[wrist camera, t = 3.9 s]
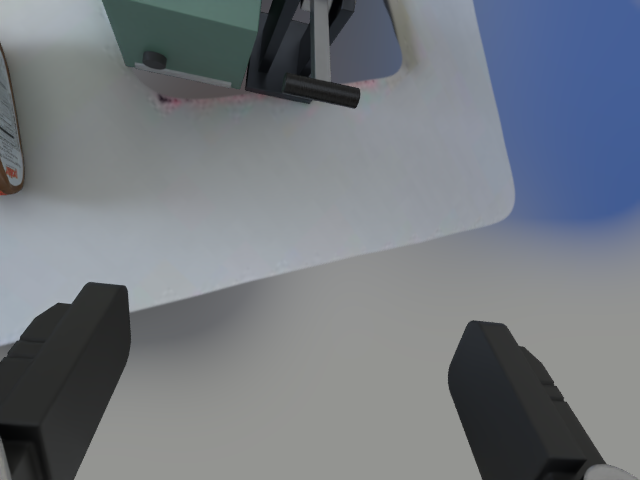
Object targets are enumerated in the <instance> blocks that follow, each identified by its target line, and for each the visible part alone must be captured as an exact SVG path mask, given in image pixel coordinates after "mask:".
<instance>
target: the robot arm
mask: <svg viewBox="0 0 640 480" xmlns="http://www.w3.org/2000/svg"><path fill="white" fill-rule="evenodd" d="M130 343H131V333H130V317H129V302H128V291H127V288H126V286H123V285H114V284H104V283H94V282H89V283H87V284H86V285H85V286H84V287H83V289H82V290H81V291H80V293H79V294H78V296H77V297H76V299H75V300H74V301H73V303H72V304H65V303H57V304H56V305H54V306H52V307H51V308H49V309H48V310H46V311H45V312H43V313H42V314H40V315H39V316H37V317H36V318H35V319H34V320H33V321H32V322H31V324H30V325H29V326H28V328H27V329H26V330H25V331H24V333H23V334H22V335H21V336H20V340H19V341H17V342H16V343H15V344H14V345H13V347H12V348H11V349H10V350H9V352H8V355H7V357H4V358H3V360H2V361H1V362H0V480H74V478H75V476H76V473H77V471H78V469H79V467H80V465H81V463H82V460H83V458H84V456H85V454H86V451H87V449H88V447H89V445H90V443H91V440H92V438H93V436H94V434H95V432H96V429H97V427H98V425H99V422H100V421H101V418H102V416H103V414H104V412H105V409H106V407H107V405H108V403H109V401H110V398H111V396H112V394H113V392H114V390H115V387H116V385H117V383H118V381H119V379H120V376H121V374H122V372H123V370H124V367H125V365H126V362H127V359H128V356H129V350H130ZM448 384H449V390H450V393H451V396H452V398H453V401H454V403H455V407H456V409H457V412H458V415H459V417H460V420H461V423H462V426H463V428H464V431H465V434H466V436H467V439H468V442H469V445H470V447H471V450H472V453H473V455H474V458H475V461H476V464H477V466H478V469H479V472H480V474H481V477H482V480H639V479H637V478H636V477H635V476H633V475H631V474H630V473H628V472H626V471H624V470H622V469H620V468H617V467H615V466H611V465H607V464H606V463H605V461H604V460H603V458H602V457H601V455H600V453H599V452H598V450H597V449H596V447H595V446H594V444H593V443H592V441H591V440H590V438H589V436H588V435H587V433H586V432H585V430H584V429H583V427H582V425H581V424H580V422H579V421H578V419H577V417H576V416H575V414H574V413H573V411H572V410H571V408H570V406H569V405H568V403H567V402H564V397H563V396H562V394H561V392H560V391H559V389H558V388H557V386H554V381H553V380H552V378H551V377H550V375H549V374H548V372H547V370H546V369H545V367H544V366H543V364H542V363H541V362H540V361H539V360H538V359H536V358H535V357H534V356H533V355H532V354H531V353H530V352H529V351H528V350H527V349H526V348H525V347H521V346H518V344H517V342H516V341H515V339H514V338H513V336H512V334H511V333H510V331H509V329H508V328H507V326H505V325H504V324H502V323H493V322H483V321H474V320H473V321H471V322H469V323H468V325H467V326H466V329H465V331H464V333H463V335H462V338H461V340H460V343H459V345H458V347H457V350H456V352H455V354H454V357H453V359H452V361H451V364H450V367H449V372H448Z"/></svg>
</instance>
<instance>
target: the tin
mask: <svg viewBox="0 0 640 480" xmlns="http://www.w3.org/2000/svg"><path fill="white" fill-rule="evenodd" d="M23 184H24V159H23V153H22V147H21V140H20V133H19V126H18V120H17V114H16V108H15V102H14V96H13V90H12V85H11V79H10V74H9V70H8V66H7V62H6V58H5V55H4V52H3V49H2V46H1V43H0V195H9V194H14V193H17V192H19V191H20V190H21V189H22V187H23Z"/></svg>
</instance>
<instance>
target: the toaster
mask: <svg viewBox="0 0 640 480" xmlns="http://www.w3.org/2000/svg"><path fill="white" fill-rule="evenodd" d="M261 1H262V0H102V2H103V5H104V7H105V10H106V13H107V16H108V18H109V21H110V24H111V26H112V29H113V32H114V35H115V37H116V40H117V43H118V45H119V48H120V51H121V54H122V56H123V59H124V62H125V65H126V66H130V67H135V68H136V69H140V70H145V71H149V72H154V73H159V74H164V75H169V76H173V77H178V78H184V79H188V80H193V81H198V82H202V83H207V84H212V85H217V86H222V87H227V88H236V89H240V87H241V84H242V81H243V78H244V75H245V72H246V68H247V65H248V62H249V59H250V56H251V52H252V49H253V46H254V43H255V40H256V36H257V33H258V28H259V19H260V11H261V10H260V9H261Z"/></svg>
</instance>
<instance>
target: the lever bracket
mask: <svg viewBox="0 0 640 480" xmlns="http://www.w3.org/2000/svg"><path fill="white" fill-rule="evenodd" d="M356 1H357V0H333V3H332V6H331V8H330V11H329V14H328V20H329V44H330V45H331V44H332V43H333V41H334V40H335V38H336V37H337V35H338V34H339V33H340V31H341V30H342V28H343V27H344V25H345V24H346V23H347V21H348V20H349V18H350V17H351V15H352V14H353V13H354V8H355V4H356ZM299 2H300V0H273V1H272V4H271V7H270V10H269V13H264V12H260V19H259V28H258V33H257V36H256V40H255V43H254V46H253V49H252V52H251V56H250V59H249V62H248V69H247V77H246V86H245V90H246V91H250V92H255V93H260V94H265V95H269V96H274V97H279V98H284V99H289V100H293V101H298V102H303V103H308V104H310V103H311V101H312V100H311V99H306V98H301V97H297V96H292V95H287V94H283V93H282V83H283V78H284V75H285V73H286V72H288V73H293V74H297V75H301V76H306V77H310V78H311V38H310V23H309V24H306V23H302V22H298V21H294V20H292V18H293V16H294V13H295V11H296V9H297V6H298V4H299Z"/></svg>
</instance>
